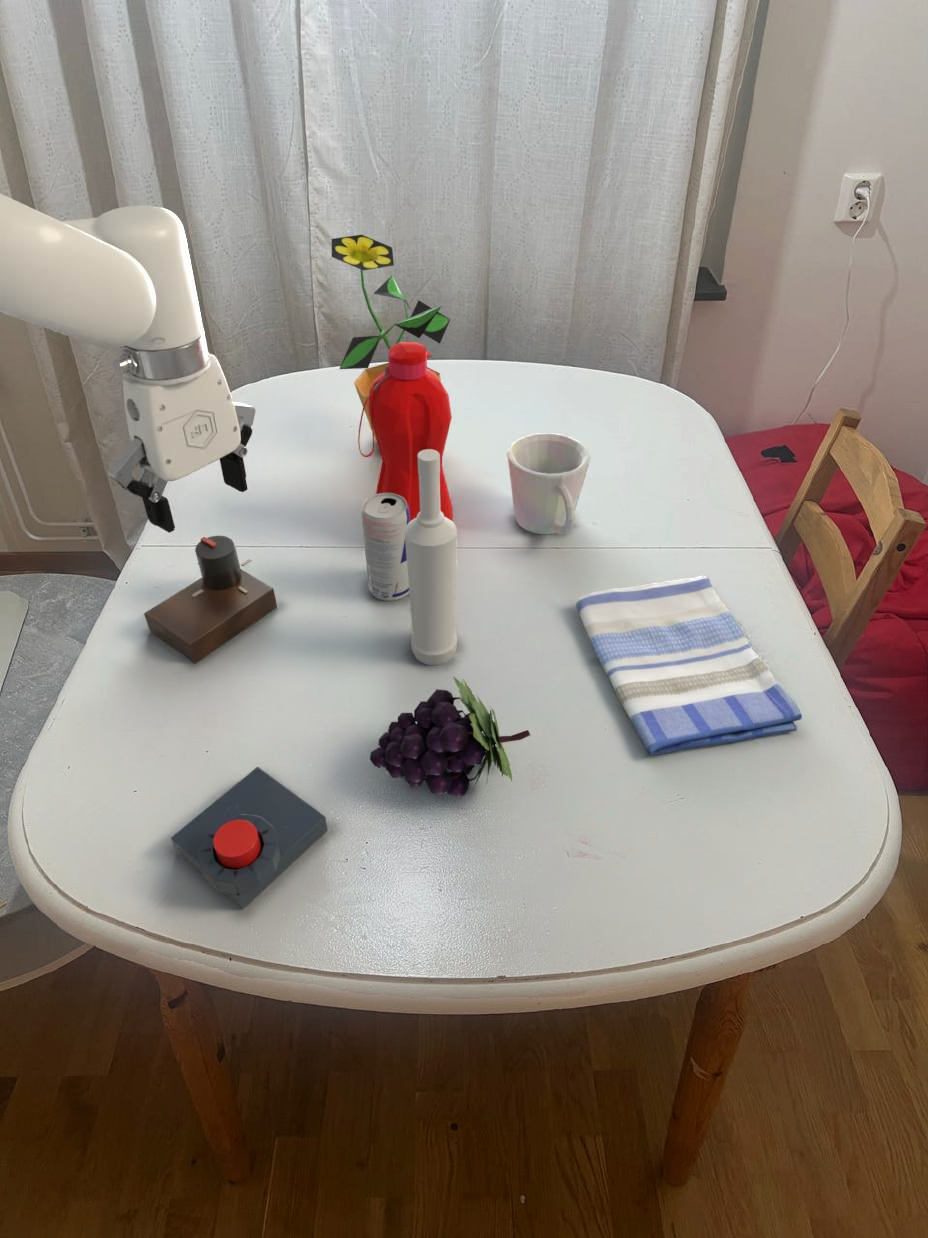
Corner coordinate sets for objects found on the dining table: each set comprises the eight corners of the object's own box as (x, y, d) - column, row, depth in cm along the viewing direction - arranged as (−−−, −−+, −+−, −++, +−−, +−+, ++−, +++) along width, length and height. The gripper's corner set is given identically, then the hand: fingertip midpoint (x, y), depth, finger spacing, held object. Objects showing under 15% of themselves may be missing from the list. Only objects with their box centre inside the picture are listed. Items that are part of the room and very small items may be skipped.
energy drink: (419, 578, 104) (415, 496, 96) (404, 606, 100) (399, 522, 92) (378, 570, 105) (371, 488, 97) (361, 597, 101) (353, 514, 93)
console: (195, 664, 93) (189, 643, 91) (137, 624, 98) (130, 603, 96) (288, 599, 101) (285, 579, 99) (231, 565, 106) (227, 545, 104)
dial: (249, 575, 100) (242, 542, 96) (220, 594, 97) (211, 561, 94) (224, 561, 102) (217, 528, 98) (195, 579, 99) (186, 546, 96)
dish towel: (706, 586, 103) (711, 568, 101) (804, 733, 86) (812, 714, 84) (570, 606, 100) (572, 588, 99) (643, 762, 83) (647, 743, 81)
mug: (567, 491, 118) (574, 427, 111) (606, 556, 107) (616, 489, 101) (495, 501, 116) (497, 437, 110) (527, 568, 106) (532, 501, 99)
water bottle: (360, 517, 113) (343, 336, 97) (439, 504, 116) (436, 325, 99) (374, 558, 107) (358, 372, 90) (458, 544, 109) (458, 360, 92)
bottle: (405, 662, 93) (393, 466, 77) (418, 631, 97) (409, 437, 80) (451, 670, 92) (449, 473, 76) (462, 638, 96) (462, 444, 79)
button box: (242, 922, 71) (233, 896, 68) (168, 857, 75) (158, 831, 73) (333, 835, 77) (329, 809, 74) (261, 780, 82) (254, 753, 79)
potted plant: (367, 489, 118) (348, 270, 98) (327, 426, 131) (303, 221, 111) (483, 462, 124) (488, 249, 104) (434, 404, 137) (430, 204, 116)
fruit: (389, 765, 87) (531, 728, 86) (390, 844, 78) (548, 804, 77) (356, 689, 81) (507, 648, 80) (352, 764, 72) (522, 720, 71)
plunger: (236, 876, 70) (232, 865, 69) (208, 852, 72) (204, 841, 70) (269, 846, 72) (266, 835, 71) (241, 824, 74) (237, 812, 72)
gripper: (110, 398, 73) (155, 558, 84) (263, 334, 83) (285, 484, 94) (60, 373, 76) (110, 530, 88) (213, 315, 87) (240, 461, 98)
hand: (201, 506), depth 91 cm, fingers open, 9 cm apart
